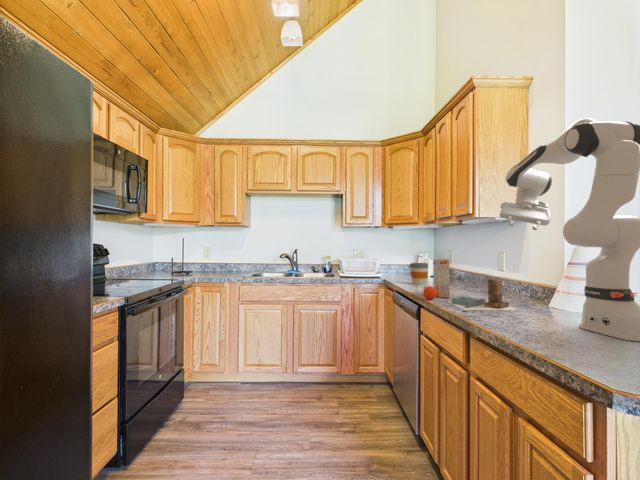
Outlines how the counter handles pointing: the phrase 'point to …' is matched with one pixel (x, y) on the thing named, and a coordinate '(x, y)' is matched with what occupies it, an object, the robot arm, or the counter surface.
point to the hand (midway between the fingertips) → (522, 227)
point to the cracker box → (441, 277)
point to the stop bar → (495, 291)
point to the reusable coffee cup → (419, 273)
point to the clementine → (430, 292)
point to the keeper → (496, 305)
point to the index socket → (461, 300)
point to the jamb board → (478, 305)
